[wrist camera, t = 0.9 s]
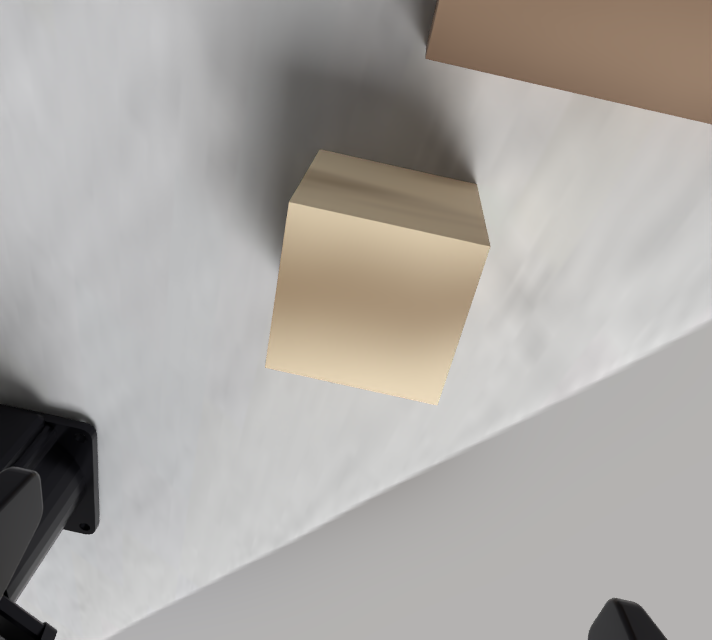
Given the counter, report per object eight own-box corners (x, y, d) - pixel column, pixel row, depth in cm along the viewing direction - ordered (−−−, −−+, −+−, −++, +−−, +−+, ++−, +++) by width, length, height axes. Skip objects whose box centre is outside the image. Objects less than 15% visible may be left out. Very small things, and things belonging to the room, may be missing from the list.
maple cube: (435, 318, 22) (437, 405, 18) (297, 287, 22) (265, 367, 17) (476, 183, 19) (490, 246, 15) (320, 148, 19) (288, 202, 15)
